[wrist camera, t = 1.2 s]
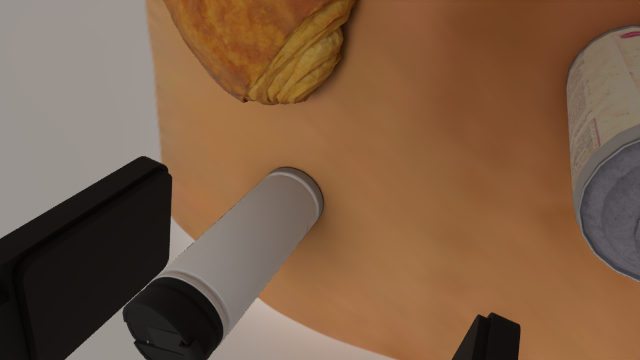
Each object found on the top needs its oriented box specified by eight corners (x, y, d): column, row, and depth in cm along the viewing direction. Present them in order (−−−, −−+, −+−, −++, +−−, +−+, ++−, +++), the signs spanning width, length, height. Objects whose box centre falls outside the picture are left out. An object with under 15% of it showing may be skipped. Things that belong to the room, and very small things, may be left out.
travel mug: (332, 226, 45) (210, 398, 29) (272, 222, 48) (131, 377, 32) (320, 166, 43) (179, 318, 27) (257, 166, 46) (96, 303, 30)
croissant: (280, 107, 45) (241, 152, 39) (161, -39, 40) (96, -14, 34) (410, 19, 36) (385, 59, 30) (277, -179, 32) (217, -178, 26)
